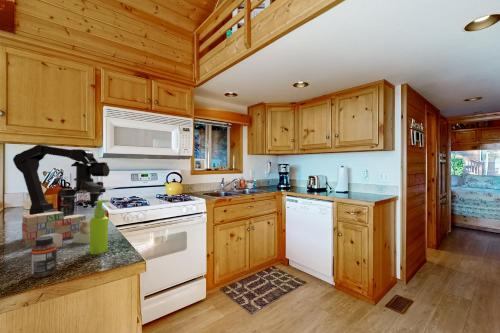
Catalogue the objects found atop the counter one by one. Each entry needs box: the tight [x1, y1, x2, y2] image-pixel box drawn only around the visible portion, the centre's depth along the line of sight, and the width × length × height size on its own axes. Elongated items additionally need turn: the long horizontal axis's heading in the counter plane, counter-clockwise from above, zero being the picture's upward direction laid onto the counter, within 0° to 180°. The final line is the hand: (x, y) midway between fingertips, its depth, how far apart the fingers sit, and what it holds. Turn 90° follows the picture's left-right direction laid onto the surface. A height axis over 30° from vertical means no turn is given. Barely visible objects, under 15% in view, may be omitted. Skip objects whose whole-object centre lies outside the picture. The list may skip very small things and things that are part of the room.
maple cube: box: [80, 218, 91, 234], centre depth 104 cm, size 5×5×5 cm
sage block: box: [72, 232, 90, 245], centre depth 104 cm, size 8×8×4 cm
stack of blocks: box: [21, 210, 87, 248], centre depth 105 cm, size 21×6×12 cm, turn 149°
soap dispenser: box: [89, 199, 111, 255], centre depth 91 cm, size 6×7×20 cm
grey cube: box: [40, 233, 63, 248], centre depth 94 cm, size 5×5×5 cm
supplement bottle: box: [30, 236, 58, 279], centre depth 71 cm, size 6×6×11 cm
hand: (83, 209), depth 108 cm, fingers open, 9 cm apart
